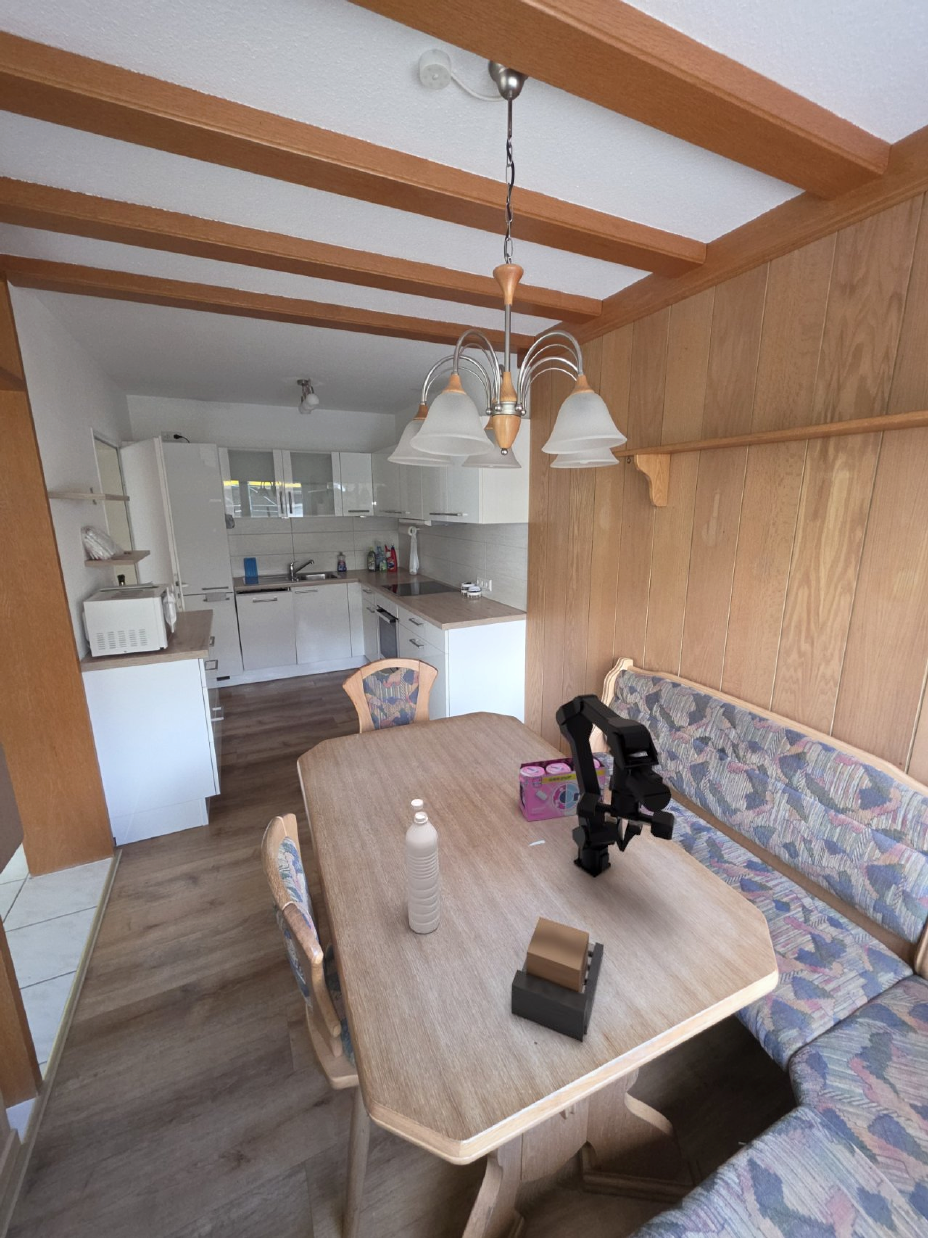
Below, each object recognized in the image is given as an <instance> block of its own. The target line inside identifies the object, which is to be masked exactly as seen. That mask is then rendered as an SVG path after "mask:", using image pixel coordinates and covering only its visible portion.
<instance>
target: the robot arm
mask: <svg viewBox="0 0 928 1238" xmlns="http://www.w3.org/2000/svg"><path fill="white" fill-rule="evenodd" d="M555 722H556V723H557V725H558V728H559V732H560V733H561V735H562V736H563V737H564V739H565V740H567V742H568V744H569V747H570V751H571V757H572V758H573V763H574V767H575V772H576V777H577V782H578V787H579V792H580V799H579V801H578V803H577V808H576V814H577V815H576V816H577V823H578V826H576V827H574V828H572V829H571V834H572V840H573V842H574V843H575V844H576V846H577V858H575V859H573V861H572V863H573V864H574V865H575V866H576V867H578V868H580V869H581V870H582V871H584V872H585V873H587V875H589V876H591V877H592V878H597V877H598V876H599V875H601V874H602V873H604V872H605V871H607V870H608V869H609V868H611V867H612V863H611V862H610V853H609V846H614V845H615V844H616V845H617V849H618V850H619V851H620V852H621V853H624V852H625V851H626V849H627V847H628V844H629V843H630V841H632V839H633V838H634V837H635V836H639V837H640V836H641V834H642V832H643V827H644V826H648V827H650V830H649V832H650V833H651V835H652V836H653V837H654V838H659V839H662V840H665V841H671V840H672V838H673V833H674V829H675V819H676V818H675V815H674V814H673V813H672V812H668V811H665V809H666V807H668V806H669V804H670V802H671V799H672V792H671V789H670V788H669V786H668V785H667V784H665V782H664V778H663V776H662V775H660V774H659V773H657V772H656V771H655V770H654V769H653V767H654V766H659V765H660V761H659V758H658V756H659V753H658V751H657V748H656V746H655V743H654V741H653V737H652V735H651V732H650V730H649V729H648V727H647V726H646V725H645V724H644V723H642V722H640V721H637V720H635V719H631V718H626V717H623V716H621V715H620V714H618V713H616V712H615V711H614V710H613V709H611V708H610V706H608V705H606V704H605V703H604V702H603V701H602V700H601V699H600V698H599V696H598V695H597V694H593V693H588V694H580V695H577V696H575V697H573V699H572V700H570V701H568V702H566V703H564V704H562V705H560V706H559V708H558V709H557V710H556V712H555ZM594 726H595V727H596V728H597V729H599V730H600V731H601V733H603V734H604V735H605V736H606V744H607V746H608V747H609V750H608V753H609V754H610V755H611V756H612V757H613V759H612V760H613V761H612V774H610V775H609V776H610V778H609V781H608V782H609V783H608V791H609V792H611V793H610V804H609V803H605V802H604V803H603V800H602V796H601V791H600V787H599V782H598V777H597V773H596V768H595V764H594V759H593V755H594V754H593V750H592V746H591V741H590V738H591V735H592V731H593V729H594ZM643 753H645V754H646V755H641V756H637V755H635V754H643ZM592 754H593V755H592ZM642 807H643V808H644V809H646V810H647V811H649V812H651V813H653V814H648V813H645V810H641V809H642ZM623 820H625V821H627V823H626V826H625V831H623Z"/></svg>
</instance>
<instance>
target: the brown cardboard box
mask: <svg viewBox="0 0 928 1238" xmlns="http://www.w3.org/2000/svg"><path fill="white" fill-rule="evenodd" d="M537 920H538V921H537V922H536V926H535V928H534V931H533V934H532V936H531V939H530V941H529V945H528V947H527V949H526V957H527V960H526V959H525V960H526V973H528V974H531V975H533V976H536V977H539V978H541V979H544V980H547V981H549V982H552V983H555V984H557V985H560V986H563V987H565V988H568V989H571V990H573V991H576V992H579V993H582V989H583V984H584V985H585V983H584V980H585V976H586V971H587V970H588V969H587V965H588V956H589V955H588V946H589V943H590V941H589V940H590V933H589V932H587V931H584V930H581V929H578V928H575V927H573V926H568V925H566V924H562V923H559V922H557V921H554V920H551V919H547V918H544V917H541V916H539V918H538V919H537Z"/></svg>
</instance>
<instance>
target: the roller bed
mask: <svg viewBox="0 0 928 1238" xmlns="http://www.w3.org/2000/svg"><path fill="white" fill-rule="evenodd" d="M604 948H605V945H604V943H600V942H596V941H595V943H594V944H593V943H591V942H589V946H588V965H587V971H586V976H585V980H584V984H583V989H582V993H579V992H576V991H573V990H571V989H568V988H565V987H563V986H560V985H557V984H555V983H552V982H549V981H547V980H544V979H541V978H539V977H536V976H533V975H531V974H528V973H526V960H527V956H526V958H525V961H524V963H523V966H522V969H521V970H519V969H516V971H515V974H514V977H513V980H512V982H511V996H510V997H511V999H510V1001H511V1002H510V1003H511V1004H510V1005H511V1007H510V1008H511V1009H510V1010H511V1012H510V1013H511V1014H513V1015H516V1016H518V1017H520V1018H522V1019H525V1020H527V1021H528V1022H532V1023H534V1024H537V1025H539V1026H541V1027H545V1028H546V1029H549V1030H551V1031H553V1032H556V1033H559V1034H561V1035H564V1036H565V1037H568V1038H570V1039H572V1040H576V1041H577V1042H580V1043H583V1042H584V1037H585V1035H586V1036H587V1034H588V1029H589V1025H590V1018H591V1015H592V1010H593V1005H594V1000H595V994H596V990H597V986H598V980H599V976H600V970H601V965H602V961H603V956H604V951H605V950H604Z"/></svg>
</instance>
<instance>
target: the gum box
mask: <svg viewBox="0 0 928 1238" xmlns="http://www.w3.org/2000/svg"><path fill="white" fill-rule="evenodd" d="M592 755H593V759H594V764H595V768H596V773H597V777H598V782H599V787H600V791H601V796H602V800H603V803H605V792H606V790H605V789H606V773H607V772H606V771H607V767H606V765H605V764H604V763H603V762H602V761H601V760H600V759H599V757H598V756H596V754H593V753H592ZM518 779H519V789H518V790H519V793H518V795H519V796H518V799H519V800H518V802H519V803H518V806H519V808H520V810H521V811H522V812H521V813H523V816H524V817H525V818H526V821H527V822H534V821H542V820H549V819H555V818H557V819H558V818H562V817H568V816H569V817H570V816H578V815H577V814H576V808H577V803H578V801H579V799H580V792H579V787H578V782H577V777H576V772H575V767H574V763H573V758H572V756H569V757H562V758H561V757H560V758H554V759H547V760H538V761H529V762H522V763H520V765H519V774H518Z"/></svg>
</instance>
